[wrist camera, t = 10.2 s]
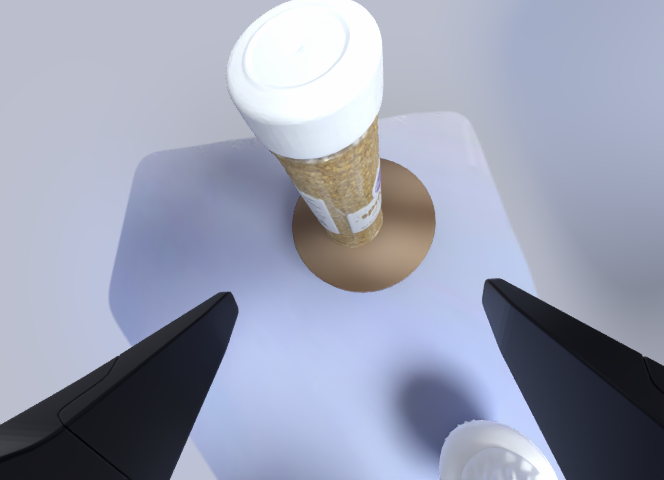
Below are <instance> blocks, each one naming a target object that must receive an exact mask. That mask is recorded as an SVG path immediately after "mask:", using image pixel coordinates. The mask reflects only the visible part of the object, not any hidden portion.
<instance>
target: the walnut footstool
mask: <svg viewBox="0 0 664 480" xmlns="http://www.w3.org/2000/svg"><path fill="white" fill-rule="evenodd" d="M380 175H381V210H382V214H383V223H382V226H381V228H380V231H379V233H378V234H377V236H376V237H375V238H374V239H373V240H372V241H370V242H369V243H367V244H365V245H363V246H360V247H356V248H350V247H345V246H341V245H340V244H338V243H336V242H334V241H333V240H332V239H331V238H330V237H329V235H328V234H327V232H326V229H325V227H324V226H323V225H322V224H321V223H320V221H319V220H318V219H317V217H316V216H315V214H314V213H313V212H312V210H311V209H310V207H309V206H308V204H307V203H306V202H305V200H304V199H303V197H302V196H301V195H300V197H299V199H298V202H297V204H296V207H295V211H294V215H293V222H292V231H293V238H294V243H295V246H296V249H297V251H298V253H299V256H300V257H301V259H302V261H303V262H304V264H305V265H306V266H307V267H308V268H309V270H310V271H311V272H312V273H314V274H315V275H316V276H317V277H318V278H320V279H321V280H323V281H324V282H326V283H328V284H330V285H332V286H334V287H336V288H339V289H342V290H346V291H351V292H362V293H365V292H375V291H379V290H383V289H386V288H389V287H392V286H394V285H396V284H397V283H399V282H401V281H402V280H404V279H405V278H407V277H408V276H409V275H410V274H411V273H412V272H413V271H414V270H415V269H416V268H417V267H418V266H419V264H420V263H421V262H422V261H423V259H424V258H425V256H426V254H427V253H428V251H429V249H430V246H431V244H432V241H433V237H434V233H435V224H436V222H435V211H434V206H433V203H432V200H431V197H430V195H429V193H428V191H427V189H426V188H425V186H424V185H423V184H422V182H421V181H420V180H419V179H418V178H417V177H416V176H415V175H414V174H413V173H412V172H410V171H409V170H408V169H406V168H404V167H403V166H401V165H399V164H397V163H395V162H392V161H389V160H386V159H381V158H380Z"/></svg>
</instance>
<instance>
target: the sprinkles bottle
mask: <svg viewBox="0 0 664 480" xmlns="http://www.w3.org/2000/svg"><path fill="white" fill-rule="evenodd" d="M226 83H227V88H228V92H229V95H230V97H231V99H232V101H233V102H234V104H235V106H236V108H237V109H238V111H239V112H240V114H241V115H242V117H243V119H244V120H245V122H246V123H247V124H248V126H249V127H250V129H251V130H252V132H253V133H254V134H255V136H256V137H257V138H258V140H259V141H260V142H261V143H262V144H263V145H264V146H265V147H266V148H267V149H268V150H269V151H270V152H271V153H273V154H274V155H275V156H276V157H277V159H278V160H279V161H280V163H281V164H282V166H283V167H284V168H285V170H286V172H287V173H288V175H289V176H290V178H291V180H292V182H293V184H294V186H295V187H296V189H297V190H298V191H299V193H300V194H301V196H302V197H303V199H304V200H305V202H306V203H307V204H308V206H309V207H310V209H311V210H312V212H313V213H314V214H315V216H316V217H317V219H318V220H319V221H320V223H321V224H322V225H323V226H324V227H325V229H326V232H327V234H328V235H329V237H330V238H331V239H332V240H333V241H334V242H336V243H338V244H340V245H341V246H345V247H350V248H356V247H360V246H363V245H365V244H367V243H369V242H370V241H372V240H373V239H374V238H375V237H376V236H377V234H378V233H379V231H380V228H381V226H382V223H383V214H382V210H381V175H380V156H379V148H378V143H379V140H378V124H377V121H378V113H379V109H380V106H381V102H382V96H383V52H382V40H381V35H380V31H379V28H378V26H377V24H376V22H375V20H374V18H373V17H372V16H371V14H370V13H369V12H368V11H367V10H366V9H365V8H364V7H362V6H361V5H360V4H358V3H356V2H355V1H352V0H291V1H288V2H285V3H283V4H281V5H279V6H277V7H274V8H273V9H271V10H269V11H268V12H266V13H265V14H263V15H262V16H260V17H259V18H258V19H257V20H255V21H254V22H253V23H252V24H251V25H250V26H249V27H248V28H247V29H246V30H245V31H244V32H243V34H242V35H241V36H240V38H239V39H238V40H237V42H236V44H235V46H234V47H233V49H232V51H231V54H230V56H229V59H228V63H227V68H226Z"/></svg>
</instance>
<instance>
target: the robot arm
mask: <svg viewBox="0 0 664 480" xmlns="http://www.w3.org/2000/svg"><path fill="white" fill-rule="evenodd" d="M482 304H483V307H484V310H485V312H486V315H487V318H488V320H489V323H490V326H491V328H492V331H493V334H494V336H495V339H496V342H497V344H498V347H499V349H500V351H501V353H502V355H503V358H504V359H505V361H506V363H507V365H508V367H509V369H510V371H511V373H512V375H513V377H514V379H515V381H516V383H517V385H518V387H519V389H520V391H521V393H522V395H523V397H524V399H525V401H526V402H527V404H528V406H529V408H530V410H531V412H532V414H533V416H534V418H535V420H536V422H537V424H538V426H539V428H540V430H541V432H542V434H543V436H544V438H545V440H546V442H547V444H548V445H549V447H550V449H551V451H552V453H553V455H554V457H555V459H556V461H557V463H558V465H559V467H560V469H561V471H562V473H563V475H564V477H565V479H566V480H664V366H663V365H661V364H659V363H657V362H656V361H654V360H651V359H650V358H648V357H643V356H642V354H640V353H639V352H637V351H635V350H633V349H631V348H629V347H627V346H626V345H624V344H622V343H620V342H618V341H616V340H614V339H613V338H611V337H609V336H607V335H605V334H603V333H601V332H600V331H598V330H596V329H594V328H592V327H590V326H588V325H586V324H585V323H583V322H581V321H579V320H577V319H575V318H574V317H572V316H570V315H568V314H566V313H564V312H562V311H560V310H559V309H557V308H555V307H553V306H551V305H549V304H547V303H546V302H544V301H542V300H540V299H538V298H536V297H534V296H533V295H531V294H529V293H527V292H525V291H523V290H521V289H520V288H518V287H516V286H514V285H512V284H510V283H508V282H507V281H505V280H503V279H500V278H495V279H487V280H486V281H485V283H484V290H483V296H482ZM237 316H238V306H237V304H236V301H235V299H234V297H233V295H232V293H231V292H219V293H217V294H216V295H214V296H213V297H211V298H209V299H208V300H206V301H205V302H203V303H201V304H200V305H198V306H197V307H195V308H194V309H192V310H190V311H189V312H187V313H186V314H184V315H182V316H181V317H179V318H178V319H176V320H174V321H173V322H171V323H170V324H168V325H166V326H165V327H163V328H162V329H160V330H158V331H157V332H155V333H154V334H152V335H150V336H149V337H147V338H146V339H144V340H142V341H141V342H139V343H138V344H136V345H134V346H133V347H131V348H130V349H128V350H127V351H125V352H123V353H122V354H120V356H117V357H115V358H114V359H112V360H110V361H109V362H108V363H106V364H104V365H102V366H101V367H99V368H98V369H96V370H94V371H93V372H91V373H89V374H88V375H86V376H85V377H83V378H81V379H80V380H78V381H76V382H74V383H72V384H71V385H69V386H67V387H66V388H64V389H62V390H60V391H59V392H57V393H55V394H53V395H52V396H50V397H48V398H47V399H45V400H43V401H41V402H39V403H38V404H36V405H34V406H32V407H31V408H29V409H27V410H26V411H24V412H22V413H20V414H19V415H17V416H15V417H13V418H11V419H10V420H8V421H6V422H4V423H3V424H1V425H0V480H170V478H171V476H172V473H173V471H174V469H175V467H176V464H177V462H178V460H179V457H180V455H181V453H182V451H183V448H184V446H185V444H186V441H187V439H188V437H189V435H190V432H191V430H192V428H193V425H194V423H195V421H196V418H197V416H198V414H199V412H200V409H201V407H202V405H203V402H204V400H205V398H206V396H207V393H208V391H209V389H210V386H211V384H212V382H213V380H214V377H215V375H216V373H217V370H218V368H219V366H220V364H221V361H222V359H223V357H224V354H225V352H226V349H227V346H228V343H229V340H230V337H231V334H232V331H233V328H234V325H235V322H236V319H237Z"/></svg>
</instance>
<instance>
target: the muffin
mask: <svg viewBox="0 0 664 480" xmlns="http://www.w3.org/2000/svg"><path fill="white" fill-rule="evenodd" d="M449 433H450V435H449V436H448V437H447V438H445V443H444V445H443V446H442V451H441V455H440V461H439V480H558V479H557V477H556V475H555V472H554V470H553V469H552V467H551V465H550V463H549V462H548V460H547V459H546V458H545V456H544V455H543V454H542V452H541V451H540V450H539V449H538V448H537V447H536V446H535V445H534V444H533V443H532V442H531V441H530V440H529V439H528V438H527V437H525V436H524V435H523V434H521V433H520V432H518V431H517V430H515V429H513V428H511V427H509V426H507V425H505V424H502V423H498V422H494V421H488V420H484V419H482V420H477V421H476V420H475V419H473V420H472V421H471V422H467V421H465V422H464V424H462V425H459V424H458V425H457V428H455V429H454V430H453V431H450V432H449Z"/></svg>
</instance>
